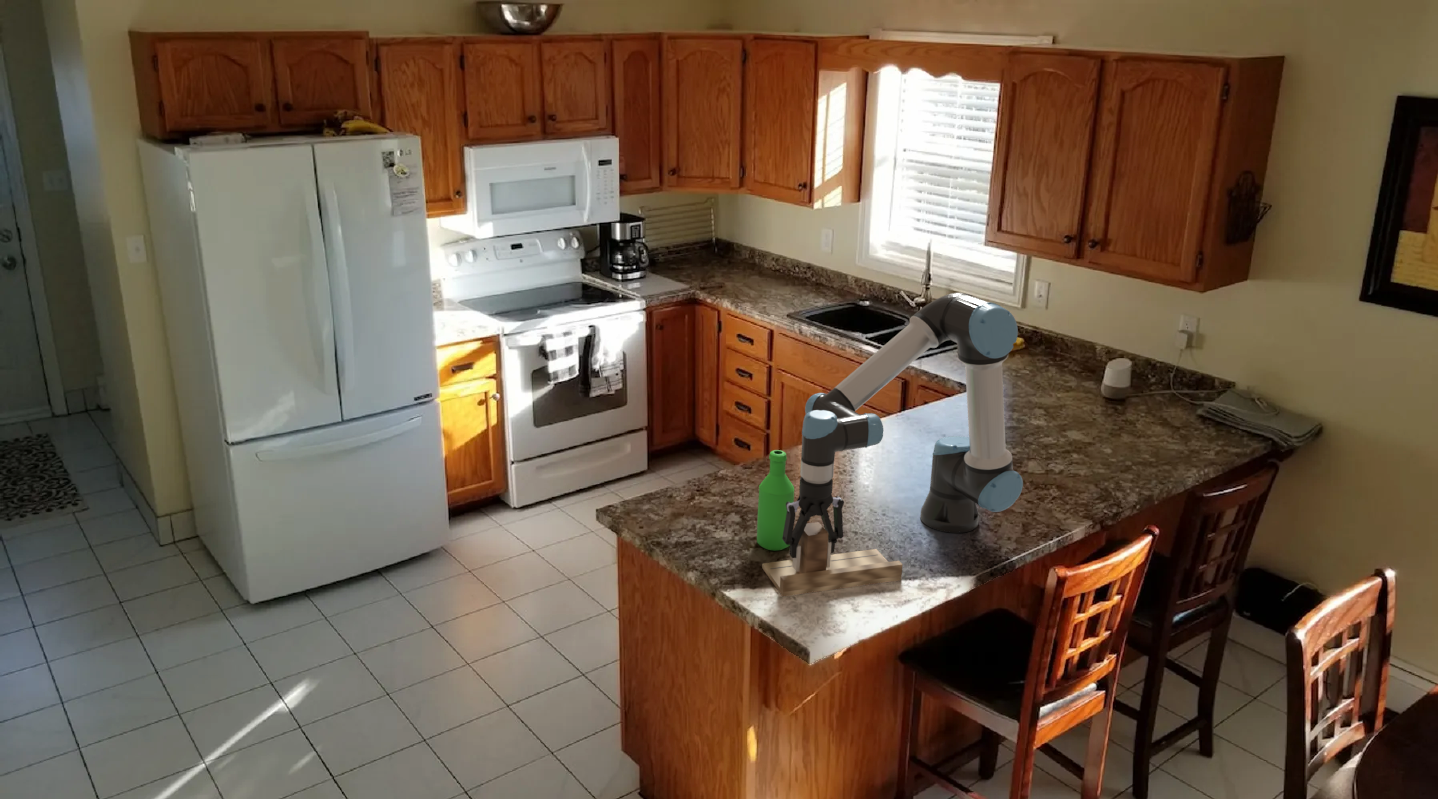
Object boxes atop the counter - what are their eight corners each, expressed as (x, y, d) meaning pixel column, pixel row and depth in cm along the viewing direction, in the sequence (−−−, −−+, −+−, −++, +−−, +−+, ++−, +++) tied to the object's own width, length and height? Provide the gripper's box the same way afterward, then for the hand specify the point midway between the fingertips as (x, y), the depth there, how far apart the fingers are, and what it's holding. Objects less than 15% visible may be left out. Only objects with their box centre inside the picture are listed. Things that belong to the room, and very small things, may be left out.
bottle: (751, 538, 273) (754, 447, 265) (782, 534, 276) (787, 443, 268) (764, 554, 266) (768, 461, 257) (796, 549, 268) (802, 457, 260)
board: (875, 553, 268) (877, 538, 266) (901, 580, 255) (902, 564, 254) (762, 567, 259) (762, 552, 258) (782, 596, 246) (783, 580, 245)
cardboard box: (803, 552, 264) (805, 507, 260) (825, 579, 252) (828, 533, 247) (784, 554, 263) (786, 509, 259) (805, 582, 250) (808, 535, 246)
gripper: (849, 466, 251) (843, 554, 259) (769, 475, 246) (765, 564, 253) (863, 479, 245) (856, 569, 252) (781, 488, 239) (776, 580, 247)
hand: (811, 566), depth 253 cm, fingers open, 7 cm apart
